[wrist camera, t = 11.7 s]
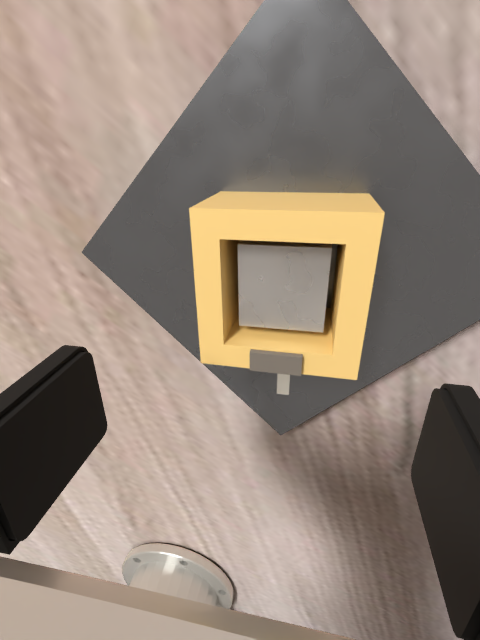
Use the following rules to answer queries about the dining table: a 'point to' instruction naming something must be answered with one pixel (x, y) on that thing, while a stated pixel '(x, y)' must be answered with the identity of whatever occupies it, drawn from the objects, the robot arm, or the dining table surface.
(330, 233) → the collar
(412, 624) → the dining table surface
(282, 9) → the post plate
